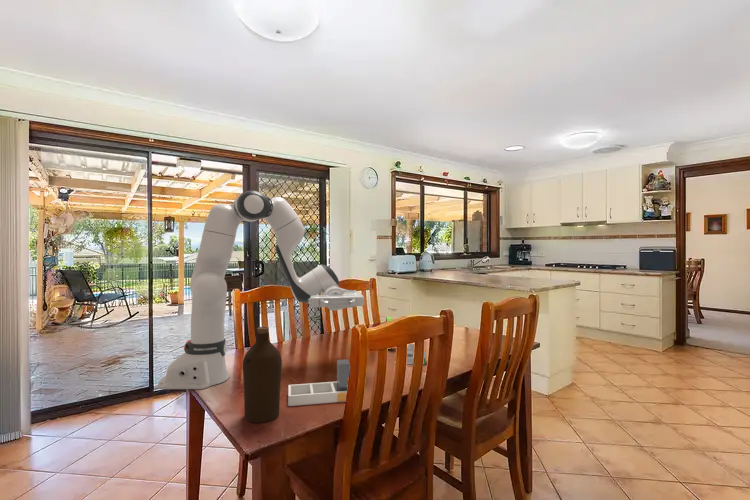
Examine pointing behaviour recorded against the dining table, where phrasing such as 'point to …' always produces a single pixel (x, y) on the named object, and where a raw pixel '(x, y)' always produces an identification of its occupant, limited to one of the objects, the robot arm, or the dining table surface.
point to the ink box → (411, 351)
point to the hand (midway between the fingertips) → (339, 303)
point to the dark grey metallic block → (342, 374)
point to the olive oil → (262, 379)
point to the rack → (314, 393)
